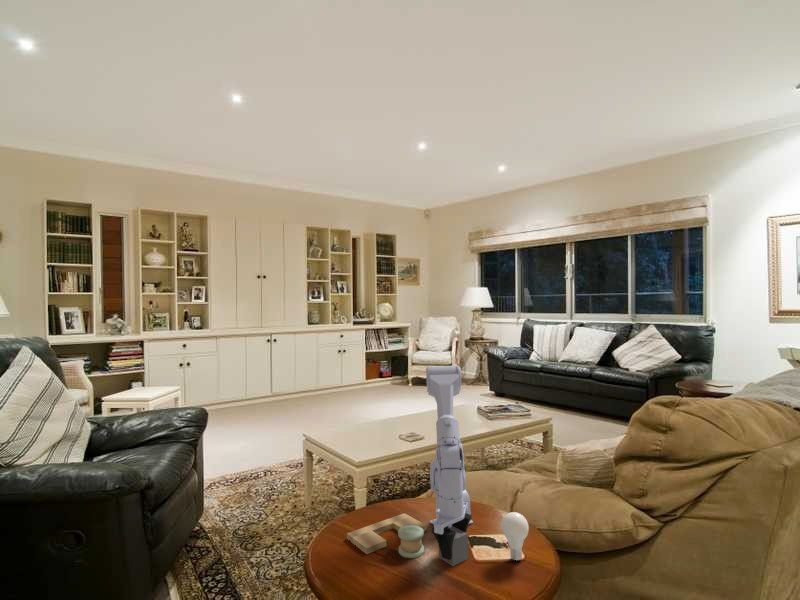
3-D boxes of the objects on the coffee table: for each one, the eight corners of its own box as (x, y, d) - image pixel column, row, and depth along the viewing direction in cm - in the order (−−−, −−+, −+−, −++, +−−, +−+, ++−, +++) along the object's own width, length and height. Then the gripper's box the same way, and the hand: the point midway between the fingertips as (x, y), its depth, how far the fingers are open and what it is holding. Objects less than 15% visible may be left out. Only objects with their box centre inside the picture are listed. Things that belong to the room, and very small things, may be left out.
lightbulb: (531, 568, 107) (529, 519, 107) (502, 566, 108) (500, 518, 109) (529, 553, 113) (527, 508, 113) (502, 552, 114) (500, 507, 115)
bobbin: (413, 542, 121) (413, 522, 121) (429, 552, 116) (428, 531, 116) (393, 550, 117) (393, 530, 117) (408, 561, 112) (408, 540, 112)
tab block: (454, 550, 116) (453, 526, 116) (468, 558, 112) (467, 533, 112) (439, 557, 113) (438, 532, 113) (452, 566, 109) (451, 540, 109)
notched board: (404, 518, 135) (404, 513, 135) (426, 530, 127) (426, 525, 127) (347, 538, 124) (346, 533, 124) (366, 554, 116) (366, 548, 116)
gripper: (449, 482, 121) (451, 534, 121) (421, 502, 109) (424, 561, 109) (474, 486, 117) (477, 541, 117) (448, 508, 105) (451, 569, 105)
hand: (453, 551), depth 113 cm, fingers closed on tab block, 6 cm apart
